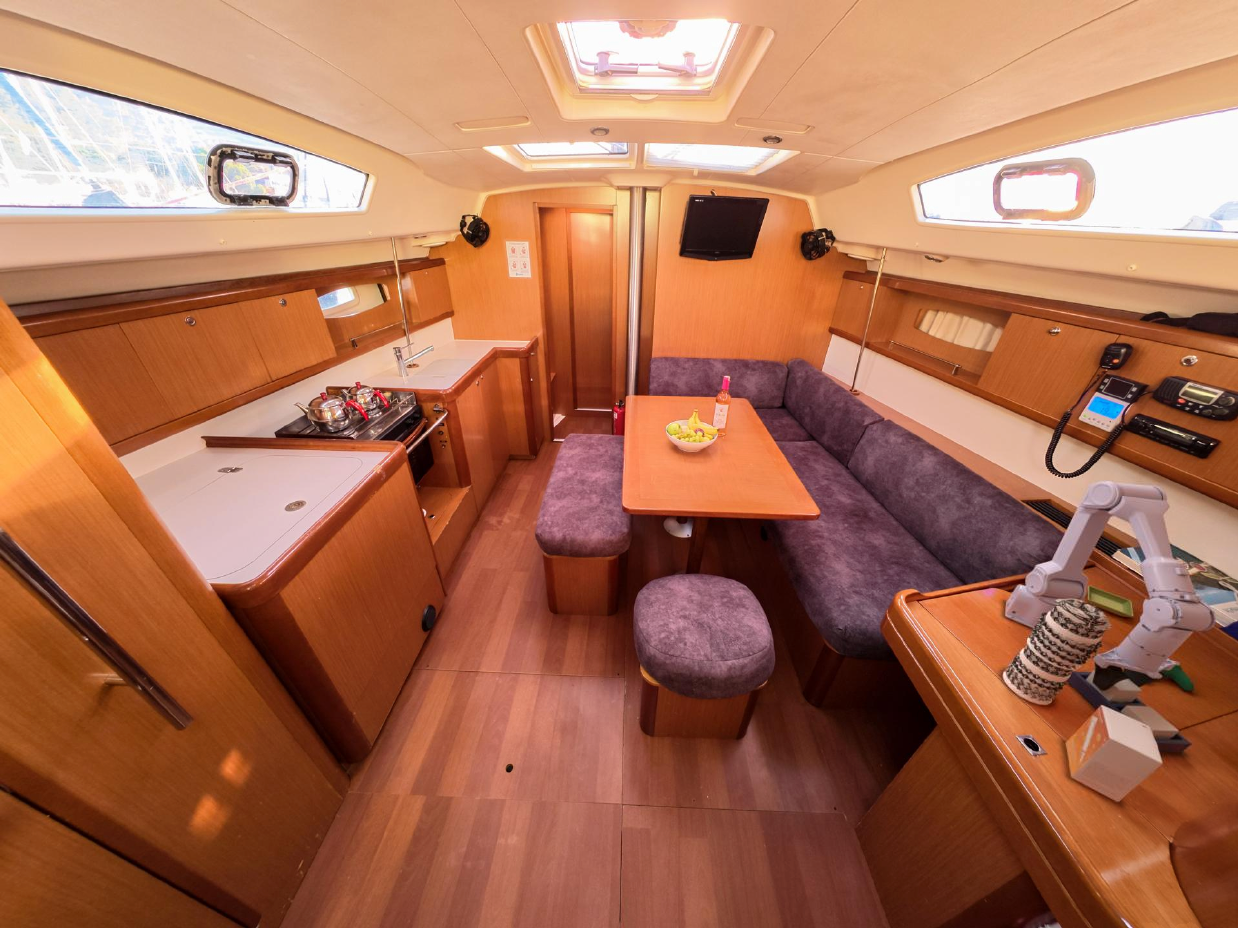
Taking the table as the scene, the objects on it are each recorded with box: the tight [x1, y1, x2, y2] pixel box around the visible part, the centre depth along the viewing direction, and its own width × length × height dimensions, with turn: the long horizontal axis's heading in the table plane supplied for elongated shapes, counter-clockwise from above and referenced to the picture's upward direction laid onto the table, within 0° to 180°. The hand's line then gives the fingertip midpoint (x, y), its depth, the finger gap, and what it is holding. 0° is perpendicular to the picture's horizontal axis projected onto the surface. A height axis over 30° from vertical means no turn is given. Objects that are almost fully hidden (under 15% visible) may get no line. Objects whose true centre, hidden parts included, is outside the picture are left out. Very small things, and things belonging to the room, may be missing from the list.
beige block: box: [1121, 705, 1180, 739], centre depth 82 cm, size 5×5×4 cm
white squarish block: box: [1086, 668, 1143, 702], centre depth 88 cm, size 5×5×4 cm
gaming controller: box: [1161, 660, 1195, 692], centre depth 94 cm, size 9×4×6 cm
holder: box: [1067, 671, 1193, 754], centre depth 86 cm, size 8×15×3 cm, turn 179°
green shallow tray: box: [1087, 584, 1134, 618], centre depth 115 cm, size 9×9×2 cm
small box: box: [1065, 705, 1164, 803], centre depth 73 cm, size 8×6×13 cm
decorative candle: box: [1002, 599, 1112, 706], centre depth 86 cm, size 9×9×25 cm
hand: (1110, 686), depth 88 cm, fingers closed on white squarish block, 5 cm apart
